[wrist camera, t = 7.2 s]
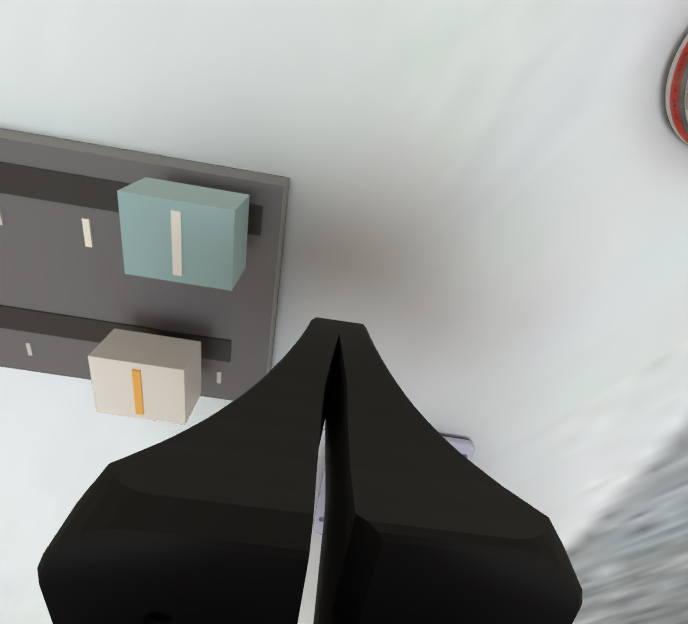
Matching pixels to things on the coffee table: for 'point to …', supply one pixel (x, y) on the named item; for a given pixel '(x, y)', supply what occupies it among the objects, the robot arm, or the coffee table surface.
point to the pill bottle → (678, 92)
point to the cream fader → (146, 376)
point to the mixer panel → (108, 264)
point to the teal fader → (183, 232)
